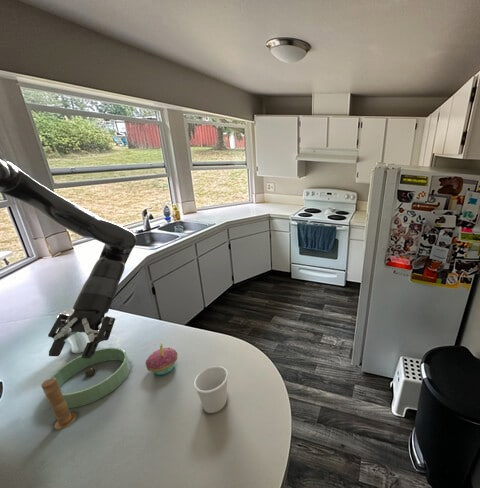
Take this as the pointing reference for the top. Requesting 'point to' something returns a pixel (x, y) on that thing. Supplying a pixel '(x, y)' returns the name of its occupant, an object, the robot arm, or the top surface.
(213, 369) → the dixie cup
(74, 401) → the oval ring
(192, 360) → the top surface
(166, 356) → the cupcake
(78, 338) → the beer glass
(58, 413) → the wooden cylinder
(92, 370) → the walnut bead
